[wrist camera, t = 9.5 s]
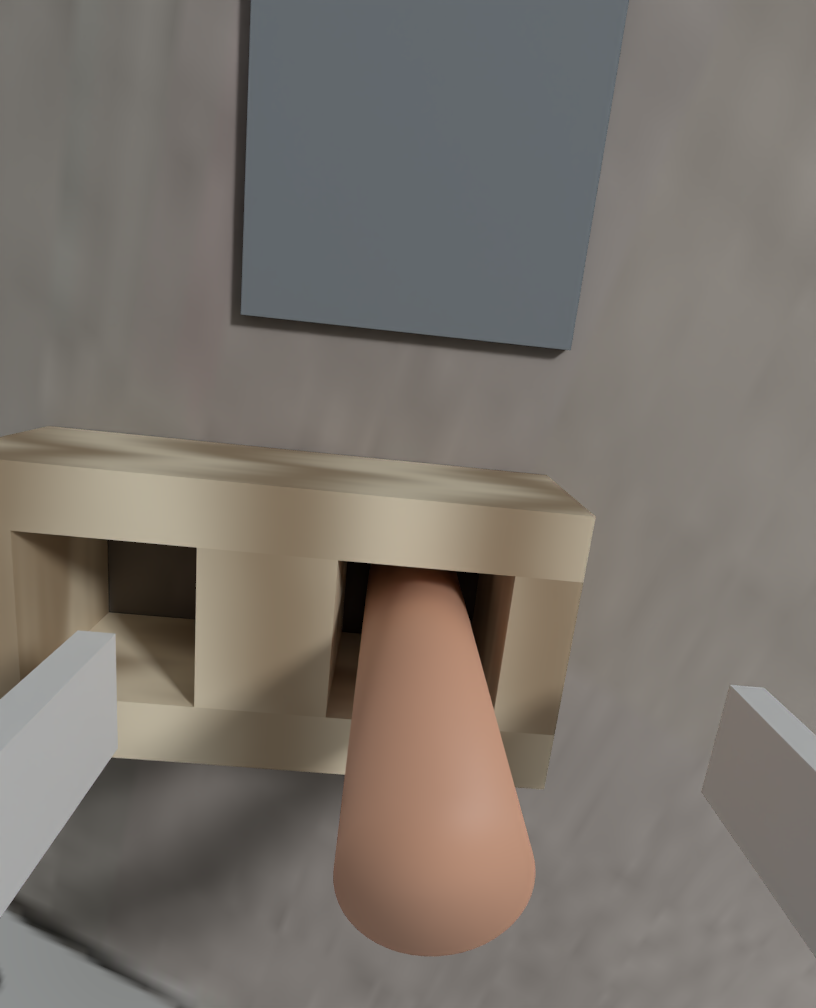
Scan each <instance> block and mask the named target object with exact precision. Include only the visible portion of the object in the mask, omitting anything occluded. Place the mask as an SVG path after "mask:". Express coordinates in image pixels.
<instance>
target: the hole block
mask: <svg viewBox="0 0 816 1008" xmlns="http://www.w3.org/2000/svg"><path fill="white" fill-rule="evenodd" d="M595 518H596V517H595V516H594V515H593V514H592V513H591V512H589V511H588V510H587V509H586V508H585V507H583V506H582V505H581V504H580V503H579V502H578V501H576V500H575V499H574V498H573V497H572V496H570V495H569V494H568V493H567V492H566V491H565V490H563V489H562V488H561V487H560V486H559V485H557V484H556V483H555V482H554V481H553V480H551V479H550V478H549V477H548V476H547V475H539V474H529V473H519V472H509V471H499V470H489V469H479V468H468V467H458V466H448V465H438V464H428V463H418V462H408V461H397V460H387V459H377V458H367V457H357V456H347V455H337V454H326V453H316V452H306V451H296V450H286V449H276V448H266V447H255V446H245V445H235V444H225V443H215V442H205V441H195V440H184V439H174V438H164V437H154V436H144V435H134V434H124V433H113V432H103V431H93V430H83V429H73V428H63V427H52V426H47V427H42V428H38V429H34V430H29V431H25V432H20V433H16V434H12V435H7V436H3V437H0V699H1V698H2V697H4V696H5V695H6V694H7V693H8V692H9V691H10V690H11V689H13V688H14V687H15V686H16V685H17V684H18V683H19V682H20V681H21V680H23V679H24V678H25V677H26V676H27V675H28V674H29V673H30V672H32V671H33V670H34V669H35V668H36V667H37V666H38V665H39V664H41V663H42V662H43V661H44V660H45V659H46V658H47V657H48V656H50V655H51V654H52V653H53V652H54V651H55V650H56V649H57V648H59V647H60V646H61V645H62V644H63V643H64V642H65V641H66V640H68V639H69V638H70V637H71V636H72V635H73V634H74V633H75V632H77V631H78V630H79V631H91V632H103V633H115V634H116V683H117V732H118V749H117V750H116V752H115V753H114V754H113V756H112V757H114V758H127V759H141V760H154V761H167V762H181V763H194V764H208V765H221V766H235V767H248V768H262V769H275V770H289V771H302V772H316V773H329V774H343V775H345V770H346V761H347V753H348V745H349V736H350V728H351V719H352V711H353V702H354V694H355V685H356V677H357V669H358V660H359V652H360V643H361V635H362V634H358V633H347V632H342V624H343V612H344V600H345V588H346V576H347V564H348V561H351V562H362V563H373V564H384V565H395V566H406V567H417V568H428V569H440V570H451V571H462V572H473V573H479V577H478V584H477V591H476V598H475V605H474V612H473V619H472V631H473V635H474V639H475V642H476V646H477V650H478V653H479V657H480V661H481V664H482V668H483V672H484V675H485V679H486V683H487V686H488V690H489V694H490V697H491V701H492V705H493V709H494V712H495V716H496V720H497V723H498V727H499V731H500V734H501V738H502V742H503V745H504V749H505V753H506V756H507V760H508V764H509V767H510V771H511V775H512V779H513V782H514V786H515V787H518V788H532V789H544V787H545V782H546V776H547V771H548V766H549V760H550V755H551V750H552V745H553V739H554V734H555V729H556V724H557V718H558V713H559V708H560V702H561V697H562V692H563V687H564V681H565V676H566V671H567V665H568V660H569V655H570V650H571V644H572V639H573V634H574V628H575V623H576V618H577V613H578V607H579V602H580V597H581V592H582V586H583V581H584V576H585V570H586V565H587V560H588V555H589V549H590V544H591V539H592V533H593V528H594V523H595ZM107 539H108V540H119V541H130V542H141V543H152V544H163V545H174V546H185V547H196V548H197V563H196V620H194V619H182V618H170V617H158V616H147V615H135V614H123V613H111V612H109V587H108V543H107Z"/></svg>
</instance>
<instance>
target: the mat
mask: <svg viewBox="0 0 816 1008" xmlns="http://www.w3.org/2000/svg"><path fill="white" fill-rule="evenodd" d="M628 3H629V0H251V14H250V45H249V76H248V107H247V138H246V169H245V200H244V231H243V262H242V293H241V315H248V316H257V317H266V318H275V319H285V320H294V321H303V322H312V323H322V324H331V325H340V326H349V327H358V328H368V329H377V330H386V331H395V332H405V333H414V334H423V335H432V336H441V337H451V338H460V339H469V340H478V341H488V342H497V343H506V344H515V345H524V346H534V347H543V348H552V349H561V350H571V345H572V339H573V333H574V327H575V321H576V315H577V309H578V303H579V297H580V291H581V285H582V279H583V273H584V267H585V261H586V255H587V249H588V243H589V237H590V231H591V225H592V219H593V213H594V207H595V201H596V195H597V189H598V183H599V177H600V171H601V165H602V159H603V153H604V147H605V141H606V135H607V129H608V123H609V117H610V111H611V105H612V99H613V93H614V87H615V81H616V75H617V69H618V63H619V57H620V51H621V45H622V39H623V33H624V27H625V21H626V15H627V9H628Z"/></svg>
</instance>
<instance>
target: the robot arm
mask: <svg viewBox="0 0 816 1008" xmlns="http://www.w3.org/2000/svg"><path fill="white" fill-rule="evenodd" d="M117 749H118V732H117V683H116V634H115V633H103V632H91V631H79V630H78V631H77V632H75V633H74V634H73V635H72V636H71V637H70V638H69V639H68V640H66V641H65V642H64V643H63V644H62V645H61V646H60V647H59V648H57V649H56V650H55V651H54V652H53V653H52V654H51V655H50V656H48V657H47V658H46V659H45V660H44V661H43V662H42V663H41V664H39V665H38V666H37V667H36V668H35V669H34V670H33V671H32V672H30V673H29V674H28V675H27V676H26V677H25V678H24V679H23V680H21V681H20V682H19V683H18V684H17V685H16V686H15V687H14V688H13V689H11V690H10V691H9V692H8V693H7V694H6V695H5V696H4V697H2V698H1V699H0V917H1V916H2V915H3V913H4V912H5V910H6V909H7V907H8V906H9V904H10V903H11V902H12V900H13V899H14V897H15V896H16V894H17V893H18V891H19V890H20V889H21V887H22V886H23V884H24V883H25V881H26V880H27V878H28V877H29V876H30V874H31V873H32V871H33V870H34V868H35V867H36V866H37V864H38V863H39V861H40V860H41V858H42V857H43V855H44V854H45V853H46V851H47V850H48V848H49V847H50V845H51V844H52V842H53V841H54V840H55V838H56V837H57V835H58V834H59V832H60V831H61V829H62V828H63V827H64V825H65V824H66V822H67V821H68V819H69V818H70V816H71V815H72V814H73V812H74V811H75V809H76V808H77V806H78V805H79V803H80V802H81V801H82V799H83V798H84V796H85V795H86V793H87V792H88V790H89V789H90V788H91V786H92V785H93V783H94V782H95V780H96V779H97V777H98V776H99V775H100V773H101V772H102V770H103V769H104V767H105V766H106V765H107V763H108V762H109V760H110V759H111V757H112V756H113V754H114V753H115V752H116V750H117ZM701 792H702V794H703V795H704V796H705V798H706V799H707V801H708V802H709V804H710V805H711V807H712V808H713V810H714V811H715V812H716V814H717V815H718V817H719V818H720V820H721V821H722V823H723V824H724V825H725V827H726V828H727V830H728V831H729V833H730V834H731V836H732V837H733V839H734V840H735V841H736V843H737V844H738V846H739V847H740V849H741V850H742V852H743V853H744V855H745V856H746V857H747V859H748V860H749V862H750V863H751V865H752V866H753V868H754V869H755V870H756V872H757V873H758V875H759V876H760V878H761V879H762V881H763V882H764V884H765V885H766V886H767V888H768V889H769V891H770V892H771V894H772V895H773V897H774V898H775V899H776V901H777V902H778V904H779V905H780V907H781V908H782V910H783V911H784V913H785V914H786V915H787V917H788V918H789V920H790V921H791V923H792V924H793V926H794V927H795V929H796V930H797V931H798V933H799V934H800V936H801V937H802V939H803V940H804V942H805V943H806V944H807V946H808V947H809V949H810V950H811V952H812V953H813V955H814V956H815V958H816V735H815V734H814V733H813V732H812V731H810V730H809V729H808V728H807V727H806V726H805V725H804V724H803V723H802V722H801V721H800V720H799V719H797V718H796V717H795V716H794V715H793V714H792V713H791V712H790V711H789V710H788V709H787V708H786V707H784V706H783V705H782V704H781V703H780V702H779V701H778V700H777V699H776V698H775V697H774V696H773V695H771V694H770V693H769V692H768V691H767V690H766V689H765V688H762V687H750V686H738V685H730V687H729V690H728V694H727V698H726V702H725V705H724V709H723V713H722V717H721V720H720V724H719V728H718V731H717V735H716V739H715V743H714V746H713V750H712V754H711V758H710V761H709V765H708V769H707V773H706V776H705V780H704V784H703V788H702V791H701Z"/></svg>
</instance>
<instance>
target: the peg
mask: <svg viewBox="0 0 816 1008" xmlns="http://www.w3.org/2000/svg"><path fill="white" fill-rule="evenodd" d="M534 882H535V861H534V857H533V852H532V849H531V845H530V841H529V837H528V834H527V830H526V826H525V823H524V819H523V815H522V812H521V808H520V804H519V801H518V797H517V793H516V790H515V786H514V782H513V779H512V775H511V771H510V767H509V764H508V760H507V756H506V753H505V749H504V745H503V742H502V738H501V734H500V731H499V727H498V723H497V720H496V716H495V712H494V709H493V705H492V701H491V697H490V694H489V690H488V686H487V683H486V679H485V675H484V672H483V668H482V664H481V661H480V657H479V653H478V650H477V646H476V642H475V639H474V635H473V631H472V627H471V624H470V620H469V616H468V613H467V609H466V605H465V602H464V598H463V594H462V591H461V587H460V583H459V580H458V576H457V572H456V571H451V570H440V569H428V568H417V567H406V566H395V565H384V564H373V563H371V565H370V569H369V576H368V584H367V593H366V601H365V610H364V618H363V626H362V635H361V643H360V652H359V660H358V669H357V677H356V685H355V694H354V702H353V711H352V719H351V728H350V736H349V745H348V753H347V761H346V770H345V778H344V787H343V795H342V804H341V812H340V821H339V829H338V837H337V846H336V854H335V863H334V871H333V883H334V889H335V894H336V897H337V900H338V903H339V905H340V907H341V909H342V911H343V913H344V914H345V916H346V917H347V918H348V920H349V921H350V922H351V923H352V924H353V925H354V926H355V928H356V929H357V930H359V931H360V932H361V933H362V934H363V935H365V936H366V937H367V938H369V939H371V940H372V941H374V942H376V943H377V944H379V945H382V946H384V947H386V948H388V949H391V950H394V951H397V952H401V953H405V954H410V955H418V956H444V955H452V954H457V953H462V952H465V951H468V950H472V949H474V948H477V947H479V946H481V945H484V944H486V943H488V942H489V941H491V940H493V939H495V938H496V937H498V936H499V935H500V934H502V933H503V932H504V931H506V930H507V929H508V928H509V927H510V926H511V925H512V924H513V923H514V922H515V921H516V920H517V918H518V917H519V916H520V915H521V913H522V912H523V910H524V909H525V907H526V905H527V904H528V901H529V899H530V897H531V894H532V891H533V887H534Z"/></svg>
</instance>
